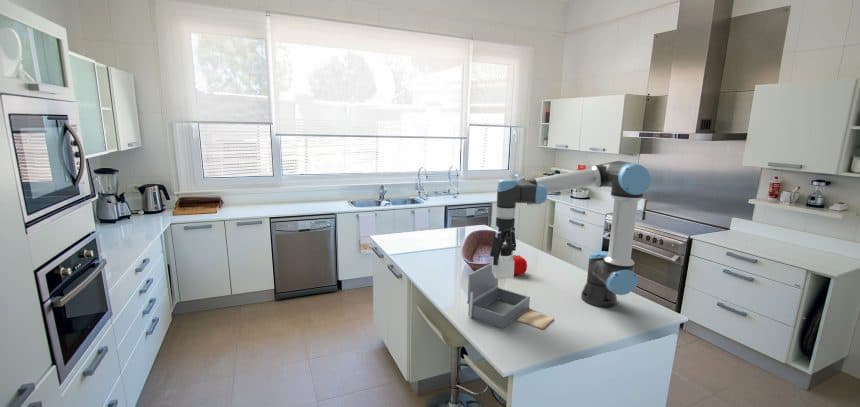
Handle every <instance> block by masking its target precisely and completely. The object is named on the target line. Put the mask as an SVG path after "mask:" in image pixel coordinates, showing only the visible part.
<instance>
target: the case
mask: <svg viewBox="0 0 860 407" xmlns="http://www.w3.org/2000/svg"><path fill="white" fill-rule="evenodd" d="M467 286H468V287H467V302H466V303H467V305H468V316H469V318H470V319H471V318H474V319H477V320H479V321H481V322H484V323H487V324H491V325H493V326H496V327H499V328H500V329H504V328H505V327H506V326H508V325H509V324H510V323H511V322H513V321H514V320H515V319H516V318H519V316H520V315H523V314H524V312H526V311H528V309H529V308H530V301H531V300H530V299H531V297H530V296H528V295H524V294H522V293H518V292H515V291H512V290H509V289H505V288H501V287H499V278H495V277H494V275H493V273H492V262H490V263H488V264H487V265H484V266H483V267H481V268H479V269H476V270H475V271H472V272H470V273H469V274H468V285H467ZM496 300H501V301H504V302H508V303H509V304H513V305H514V306H513V307H511V308H509V309H508V310H507V311H505V312H504V313H503V314H500V313H498V312H495V311H492V310H490V309H487V308H486V307H487V306H489V305H490V304H491V303H493V302H495V301H496Z"/></svg>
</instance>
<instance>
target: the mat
mask: <svg viewBox="0 0 860 407" xmlns="http://www.w3.org/2000/svg"><path fill="white" fill-rule="evenodd" d="M554 319H555V318H554V317H551V316H547V315H545V314H541V313H540V312H536V311H533V310H528V309H527V310H526V311H525V313H522V314H521V316H520V317H517V322H520V323H523V324H525V325H528V326H531V327H534V328H536V329H540V330H544V329H545V328H546V327H547V326H549V325H550V324H551V323H552V322H553V321H555V320H554Z"/></svg>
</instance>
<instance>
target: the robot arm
mask: <svg viewBox="0 0 860 407" xmlns="http://www.w3.org/2000/svg"><path fill="white" fill-rule="evenodd" d="M651 176H652V175H651V174H650V171H649V170H648V169H647V168H646V167H645V166H643V165H642V164H639V163H636V162H629V161H623V160H615V161H610V162H609V161H608V162H605V163H600V164H597V165H592V166H591V167H590V168H586V169H581V170H575V171H570V172H562V173H559V174H554V175H553V174H552V175H547V176H541V177H535V178H529V179H524V178H523V179H520V178H519V179H514V178H501V179H499V180H498V183H497V190H496V192H497V194H496V209H495V210H496V212H495V213H496V217H495V226H496V227H497V228H498V231H494V233H493V240H492V245H491V251H490V255H489V256H490V257H493V272H496V273H500V257H499V256H500V253H501V249H502V246H503V244H506V245H509V246H511V247H512V255H511V257H512V258H513V256H514V251H515V252H516V250H517V249H516V248H517V240H516V227H515V225H516V224H515V220H516V219H515V216H516V204H536V205H537V204H544V203H545V202H547V198H548V194H552V193H559V192H564V191H570V190H577V189H583V188H589V187H594V188H602V187H603V188H605V187H606V188H611V190H610V196H611V197H612V198H613V199H614V200H613V207H612V209H613V210H612V215H611V216H612V218H611V226H610V236H609V242H608V244H609V245H608V251H605V250H603V251H602V250H594V251H591V252H590V253H589V257H588V264H587V265H588V267H587V275H586V277H587V278H586V282H585V285H584V287H583V289H582V290H581V293H580V295H581V296H580V298H581V300H582V301H583V302H585V303H587V304H588V305H592V306H595V307H599V308H600V307H601V308H610V307H615V306H616V305H617V300H618V297H617V295H618V296H625V295H628V294H630V293H631V292H633V291H634V290H635V289H636V288H637V285H638V282H639V280H638V276H637V273H635V271H634V270H635V262H634V260H633V259H632V253H633V252H632V250H633V242H634V236H635V226H636V219H637V211H638V203H639V201H640V200H642V199H644V193H645V192H647V190H648V189H649V187H650V186H651V182H652V177H651Z"/></svg>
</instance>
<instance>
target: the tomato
mask: <svg viewBox="0 0 860 407" xmlns="http://www.w3.org/2000/svg"><path fill="white" fill-rule="evenodd" d="M513 260H514V261H515V262H514V275H517V276H521V275H523V274H525V273H526V272H527V268H528V263H527V260H526V259H525V258H524V257H522V256H521V255H520V254H518V255H516V254H513Z"/></svg>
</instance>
